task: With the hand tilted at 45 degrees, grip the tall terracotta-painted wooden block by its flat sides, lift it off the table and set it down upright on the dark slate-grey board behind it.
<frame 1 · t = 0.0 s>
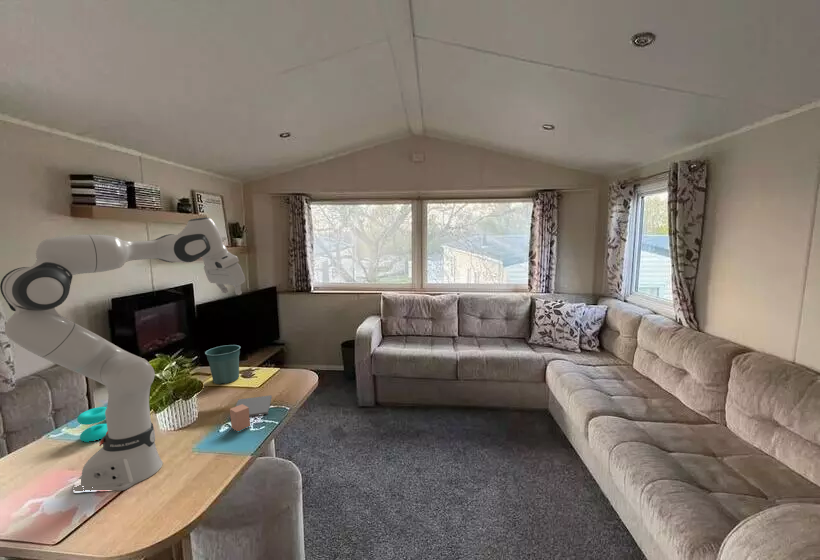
hand: (232, 293, 146), 52 cm above the table, tool tilted 20°, fingers open, 8 cm apart
slate board: (252, 407, 166), on the table
terracotta block: (241, 427, 149), on the table
donuts: (97, 437, 146), on the table
flower pot: (226, 380, 199), on the table
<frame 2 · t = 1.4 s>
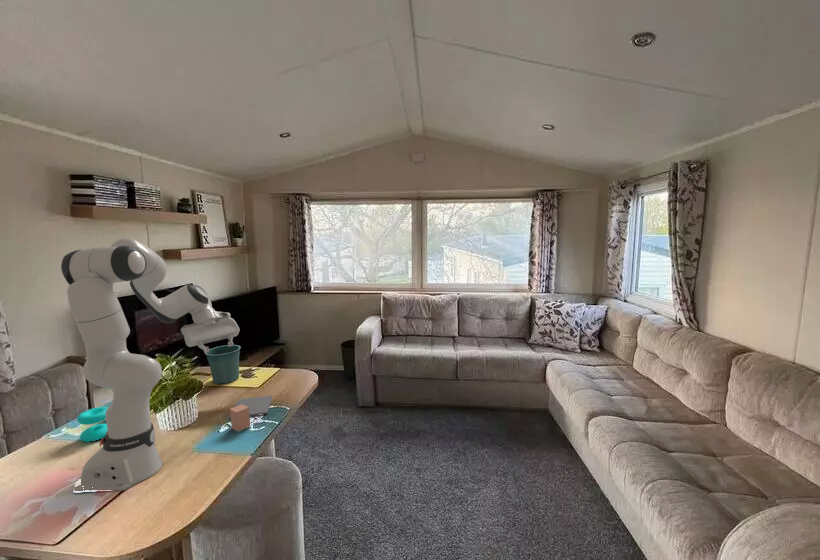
hand: (219, 348, 153), 29 cm above the table, tool tilted 45°, fingers open, 8 cm apart
nothing on the table moved.
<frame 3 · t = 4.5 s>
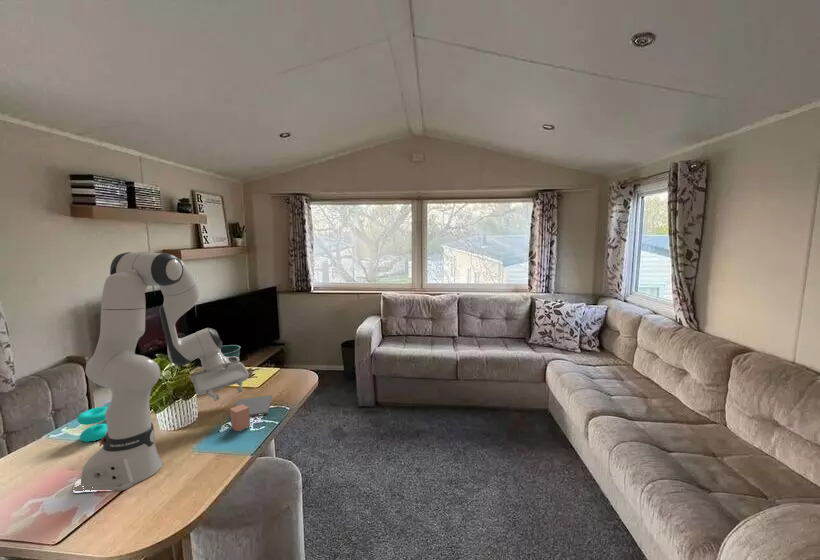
hand: (229, 395, 152), 11 cm above the table, tool tilted 45°, fingers open, 8 cm apart
nothing on the table moved.
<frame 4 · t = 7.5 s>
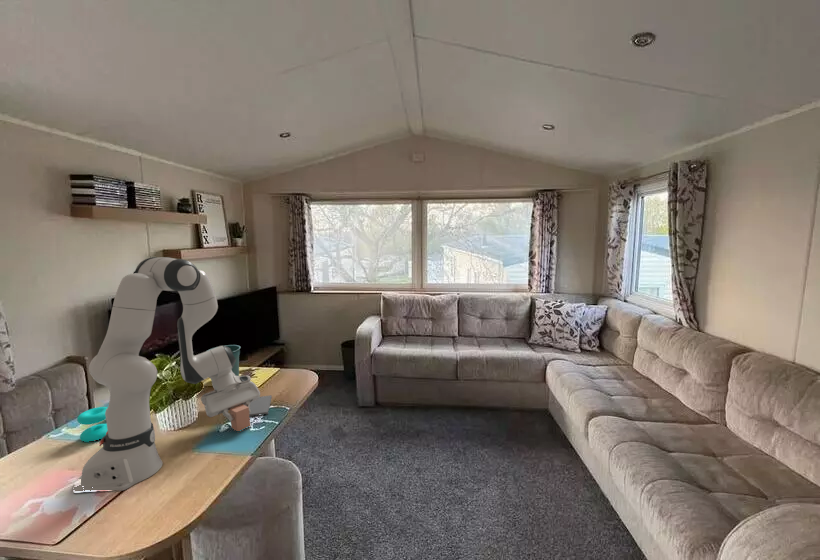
hand: (240, 416, 148), 5 cm above the table, tool tilted 45°, fingers closed on terracotta block, 5 cm apart
terracotta block: (241, 427, 149), on the table, touching gripper
everything else where it was.
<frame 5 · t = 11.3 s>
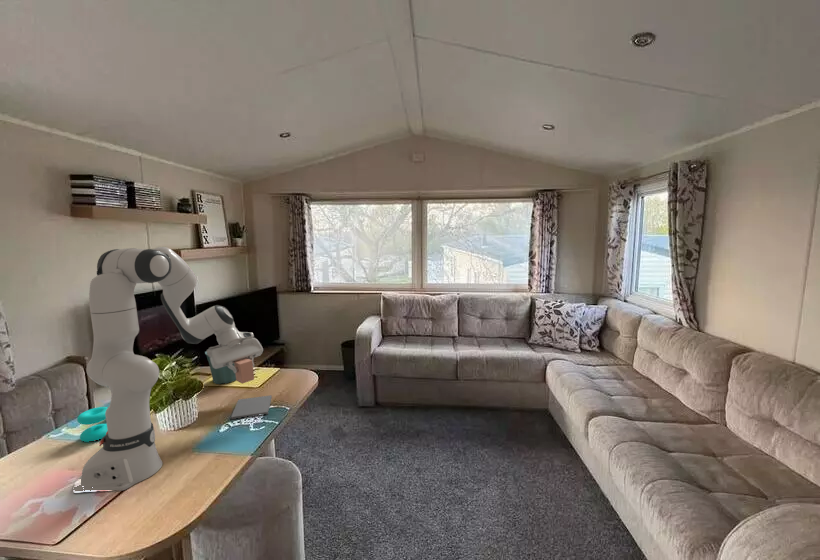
hand: (244, 369, 155), 20 cm above the table, tool tilted 45°, fingers closed on terracotta block, 5 cm apart
terracotta block: (245, 380, 156), point 16 cm above the table, touching gripper
everything else where it was.
when the fingers open (7 cm above the table, at t = 15.4 s): terracotta block drops 1 cm, resting on slate board.
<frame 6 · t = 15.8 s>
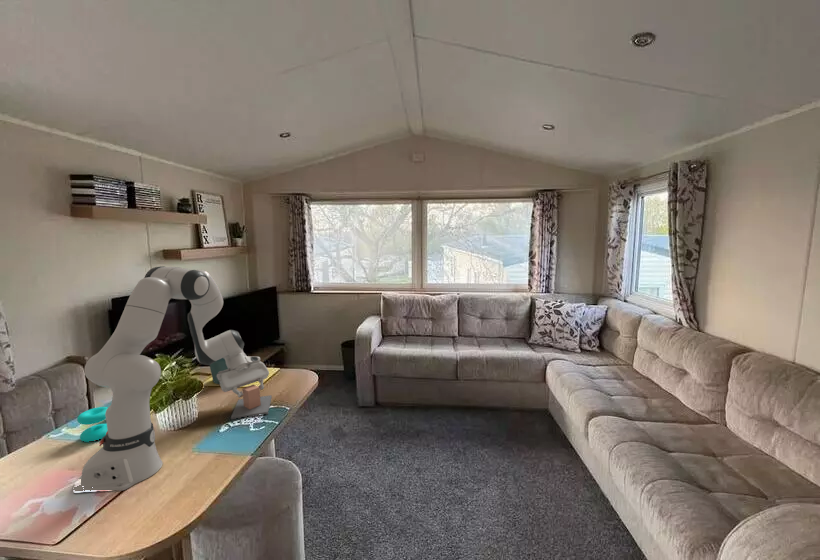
hand: (251, 392, 164), 7 cm above the table, tool tilted 45°, fingers open, 8 cm apart
terracotta block: (252, 405, 165), point 1 cm above the table, touching slate board
everything else where it was.
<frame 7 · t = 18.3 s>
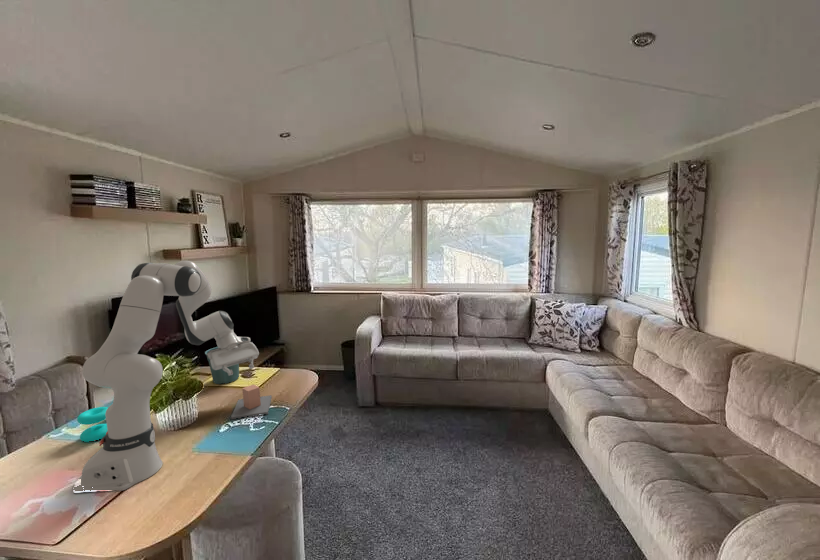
hand: (241, 371, 168), 15 cm above the table, tool tilted 45°, fingers open, 8 cm apart
nothing on the table moved.
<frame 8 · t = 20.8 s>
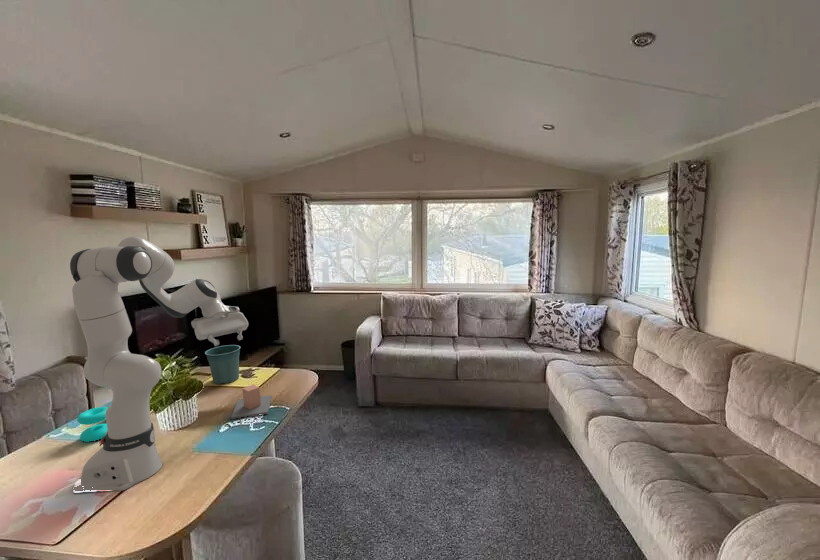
hand: (229, 341, 155), 31 cm above the table, tool tilted 45°, fingers open, 8 cm apart
nothing on the table moved.
at the end: terracotta block inside the target area on the slate board (0.1 cm from its centre), point 1.0 cm above the slate board's base; terracotta block tilted 0°; the gripper is holding nothing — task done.
